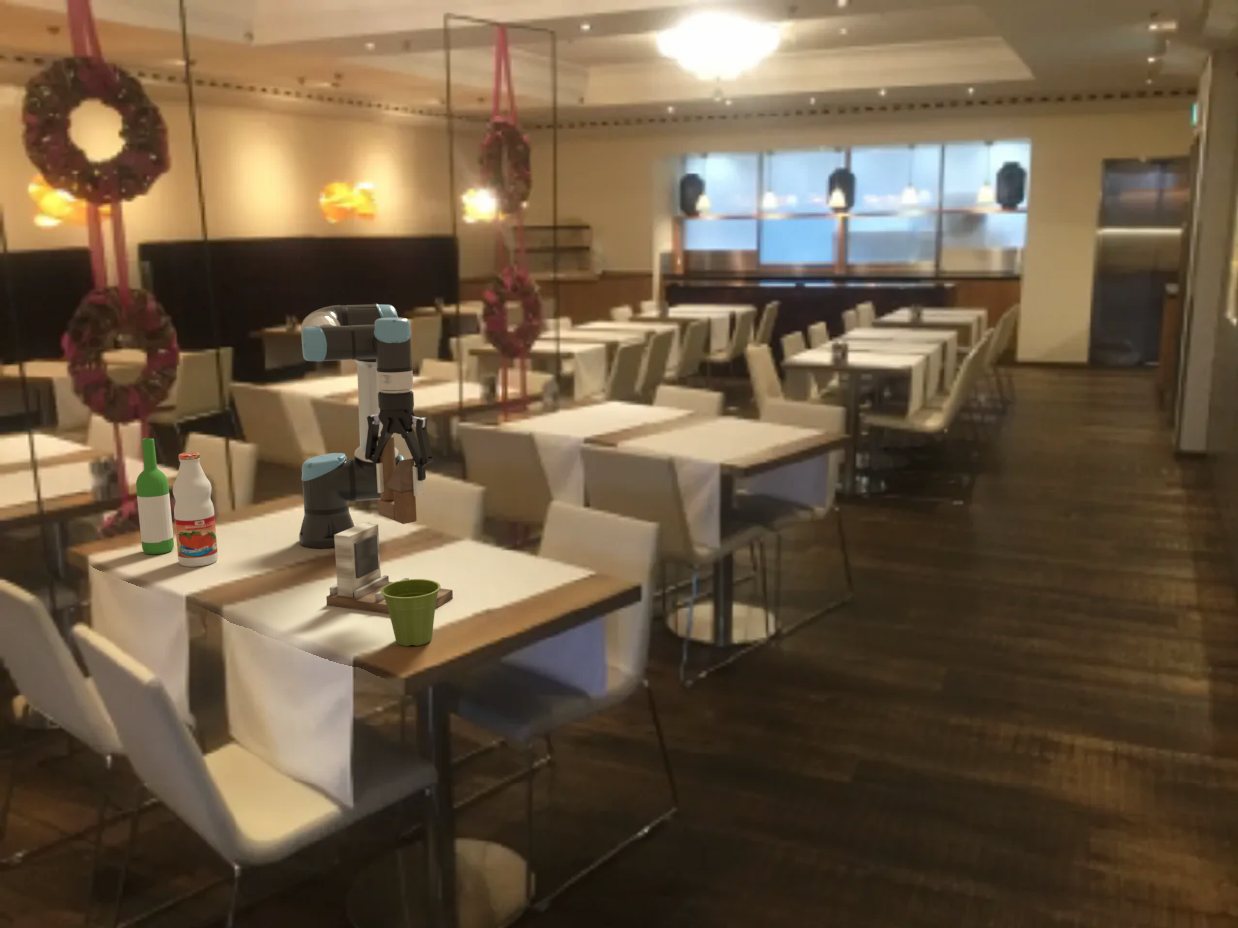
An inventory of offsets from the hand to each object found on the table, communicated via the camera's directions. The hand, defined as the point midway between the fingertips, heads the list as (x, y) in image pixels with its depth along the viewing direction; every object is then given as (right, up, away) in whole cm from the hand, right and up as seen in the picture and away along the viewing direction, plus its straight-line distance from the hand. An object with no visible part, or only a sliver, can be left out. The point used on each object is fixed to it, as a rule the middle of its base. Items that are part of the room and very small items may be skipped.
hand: (400, 493), depth 238 cm
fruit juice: (-59, -19, +38) cm, 72 cm away
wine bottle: (-73, -17, +47) cm, 89 cm away
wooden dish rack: (-4, -25, +6) cm, 26 cm away
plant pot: (+6, -30, -17) cm, 35 cm away
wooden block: (-1, -6, +2) cm, 6 cm away
